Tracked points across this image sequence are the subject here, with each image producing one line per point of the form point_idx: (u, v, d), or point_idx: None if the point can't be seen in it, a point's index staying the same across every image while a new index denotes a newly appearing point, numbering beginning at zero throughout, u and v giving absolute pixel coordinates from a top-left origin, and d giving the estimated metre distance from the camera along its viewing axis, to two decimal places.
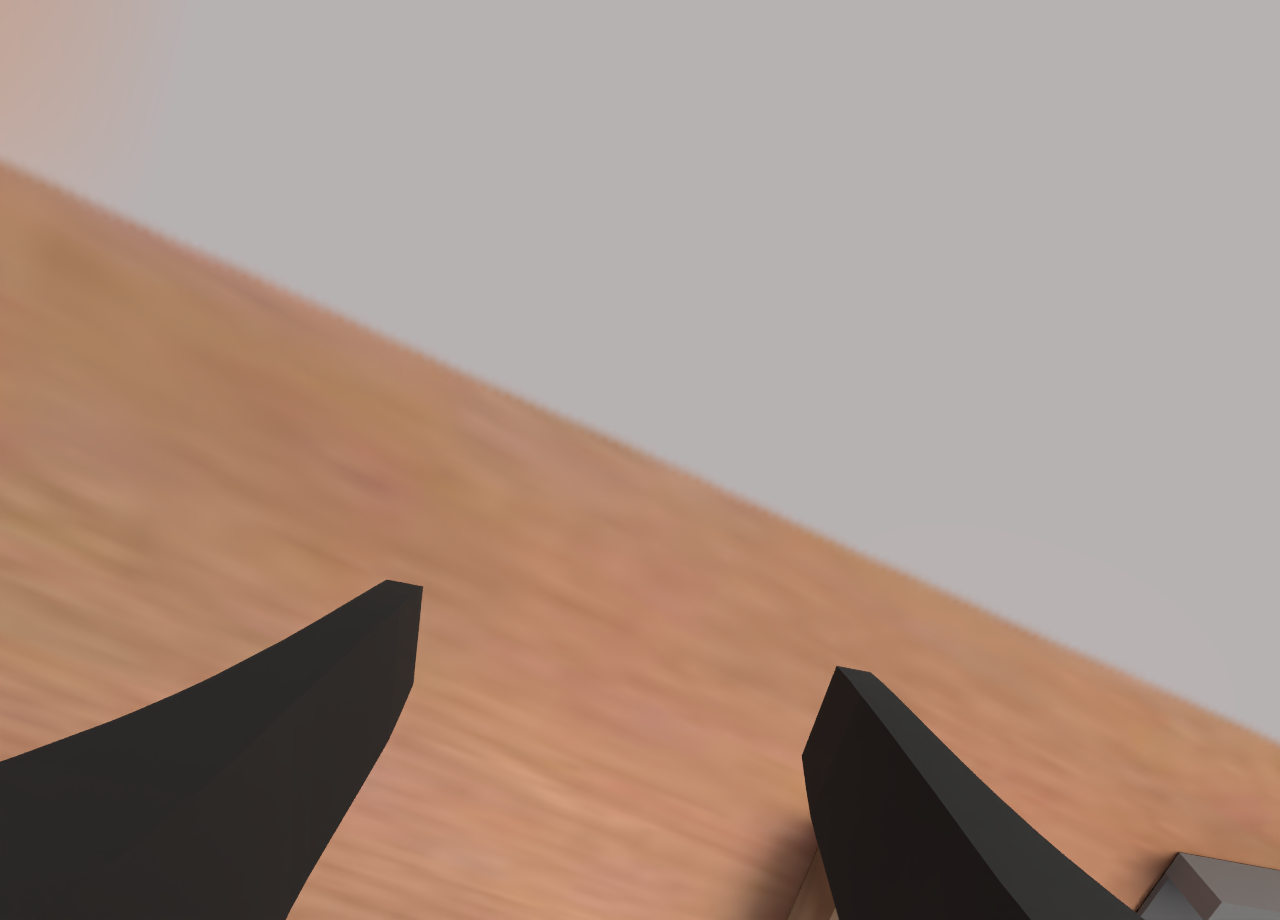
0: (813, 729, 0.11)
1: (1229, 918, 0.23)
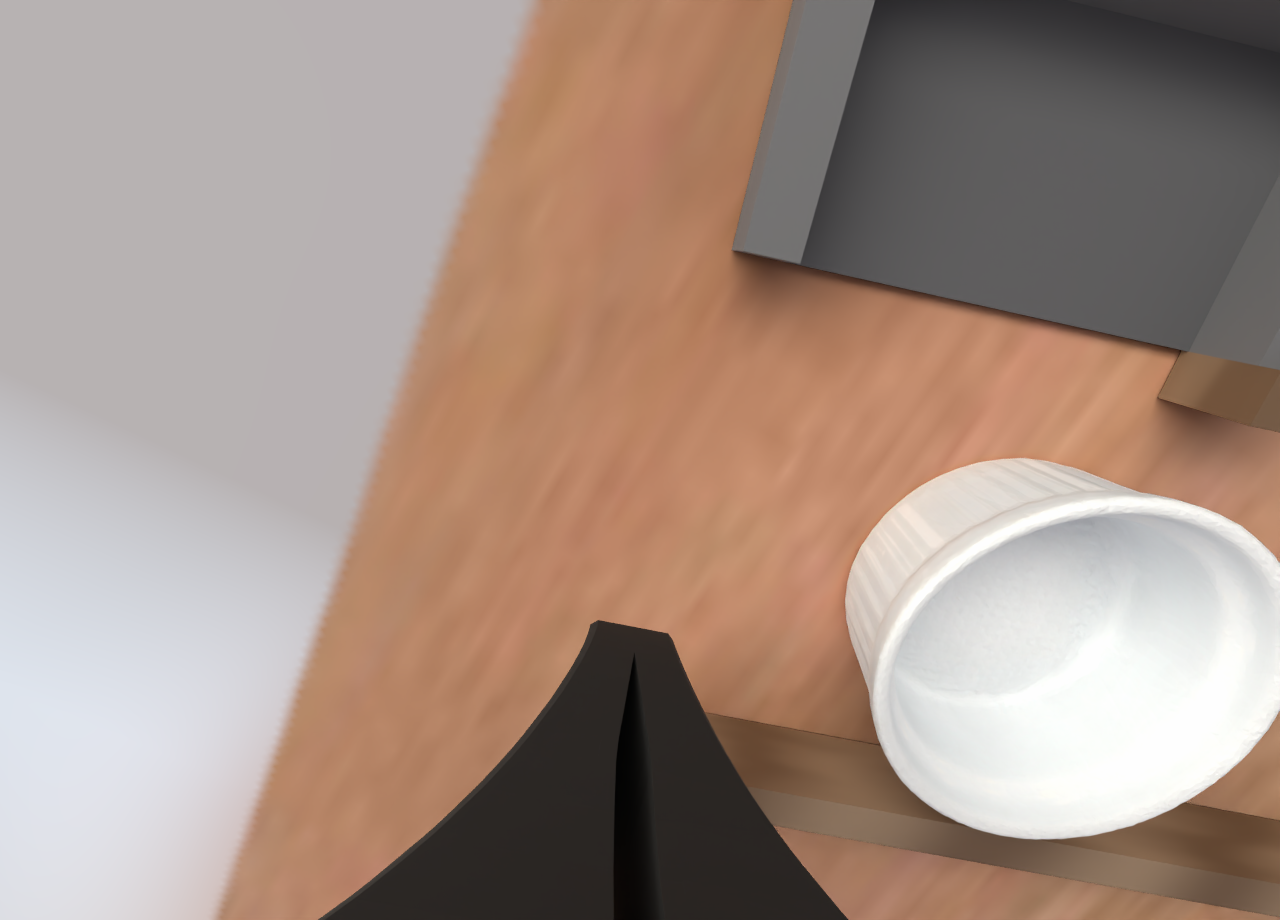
0: None
1: (789, 221, 0.12)
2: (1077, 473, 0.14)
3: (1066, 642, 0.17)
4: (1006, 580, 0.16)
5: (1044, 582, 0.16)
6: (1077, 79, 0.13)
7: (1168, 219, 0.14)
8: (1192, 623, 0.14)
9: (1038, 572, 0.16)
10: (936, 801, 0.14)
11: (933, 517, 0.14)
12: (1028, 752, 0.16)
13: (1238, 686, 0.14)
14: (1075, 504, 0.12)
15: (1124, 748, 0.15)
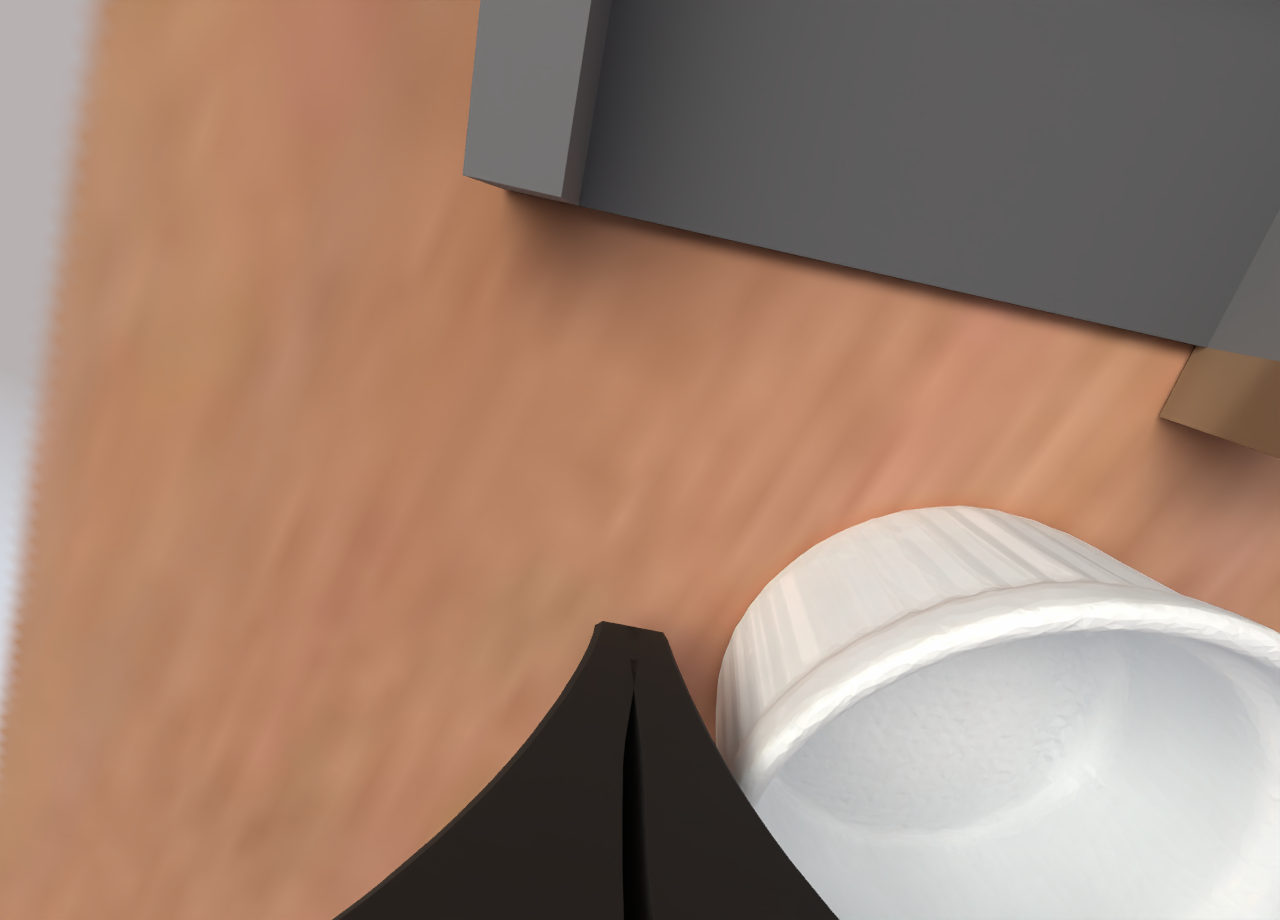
0: None
1: (533, 121, 0.07)
2: (1040, 537, 0.09)
3: (1031, 764, 0.12)
4: (942, 680, 0.11)
5: (997, 683, 0.11)
6: None
7: (1178, 137, 0.09)
8: (1215, 766, 0.09)
9: (988, 670, 0.11)
10: None
11: (817, 604, 0.09)
12: None
13: None
14: (1024, 614, 0.07)
15: None
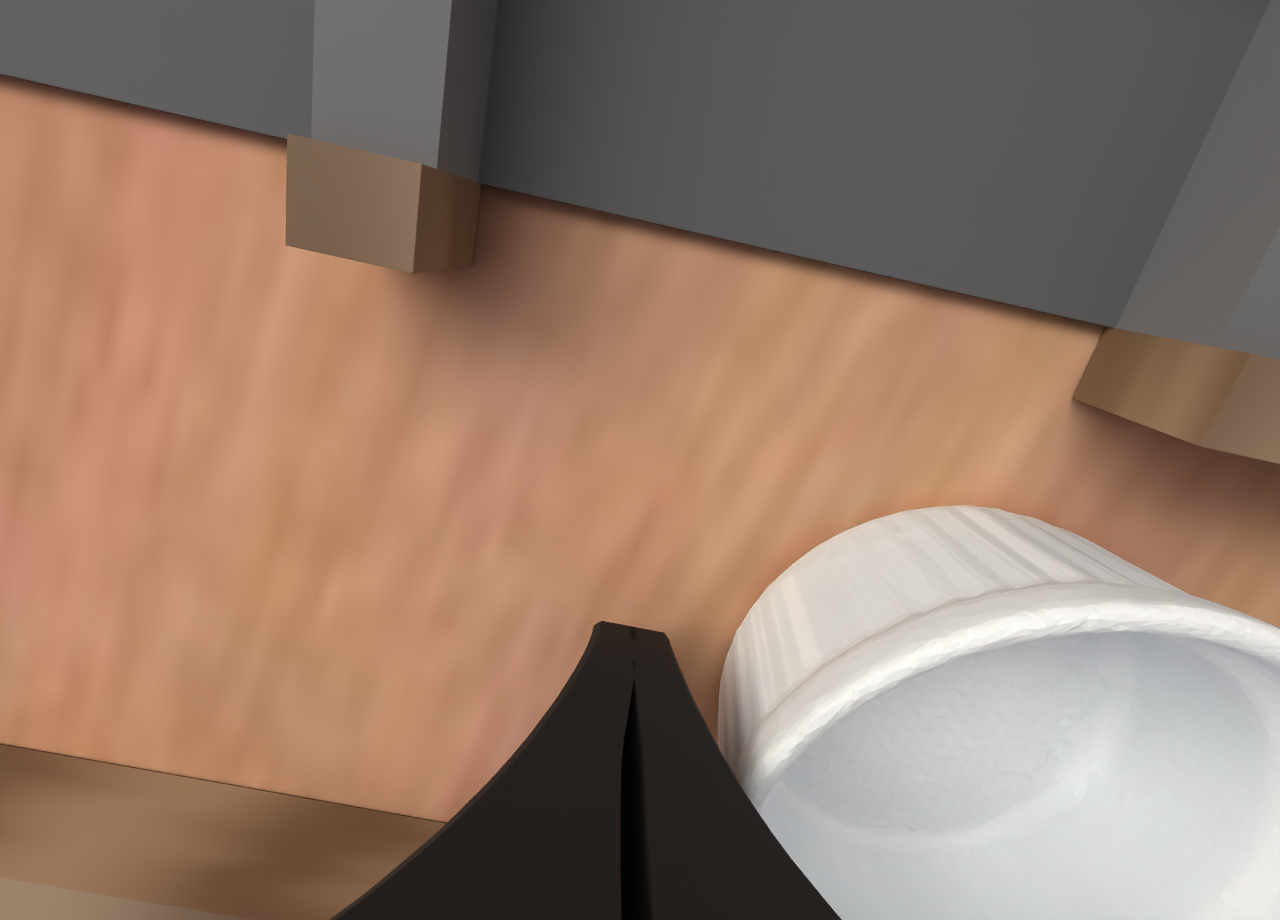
0: None
1: None
2: (1043, 536, 0.09)
3: (1037, 764, 0.12)
4: (946, 681, 0.11)
5: (1002, 684, 0.11)
6: None
7: None
8: (1225, 766, 0.09)
9: (992, 670, 0.11)
10: None
11: (818, 607, 0.09)
12: None
13: None
14: (1029, 616, 0.07)
15: None
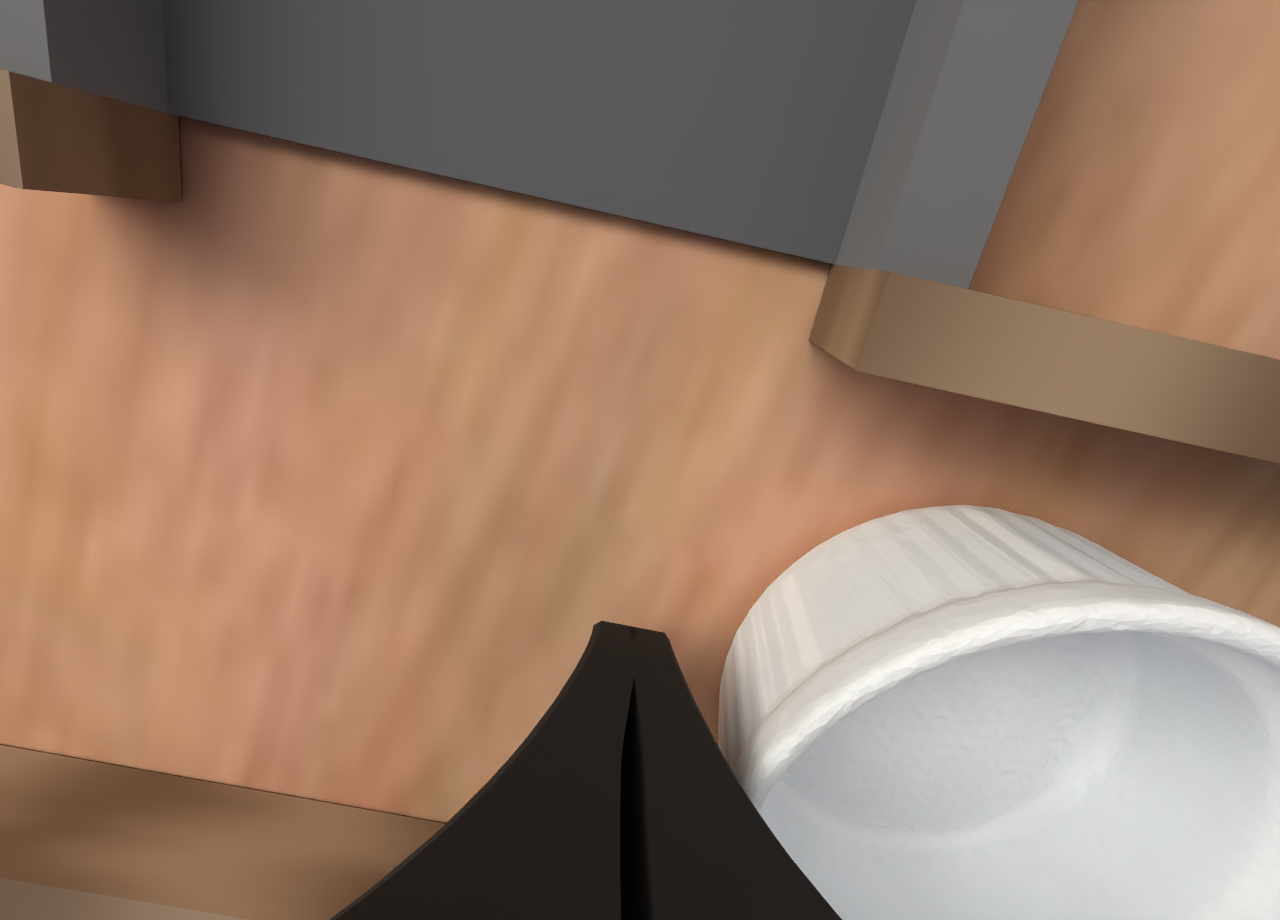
0: None
1: None
2: (1043, 535, 0.09)
3: (1038, 764, 0.12)
4: (946, 681, 0.11)
5: (1003, 683, 0.11)
6: None
7: None
8: (1225, 765, 0.09)
9: (993, 670, 0.11)
10: None
11: (817, 607, 0.09)
12: None
13: None
14: (1027, 615, 0.07)
15: None
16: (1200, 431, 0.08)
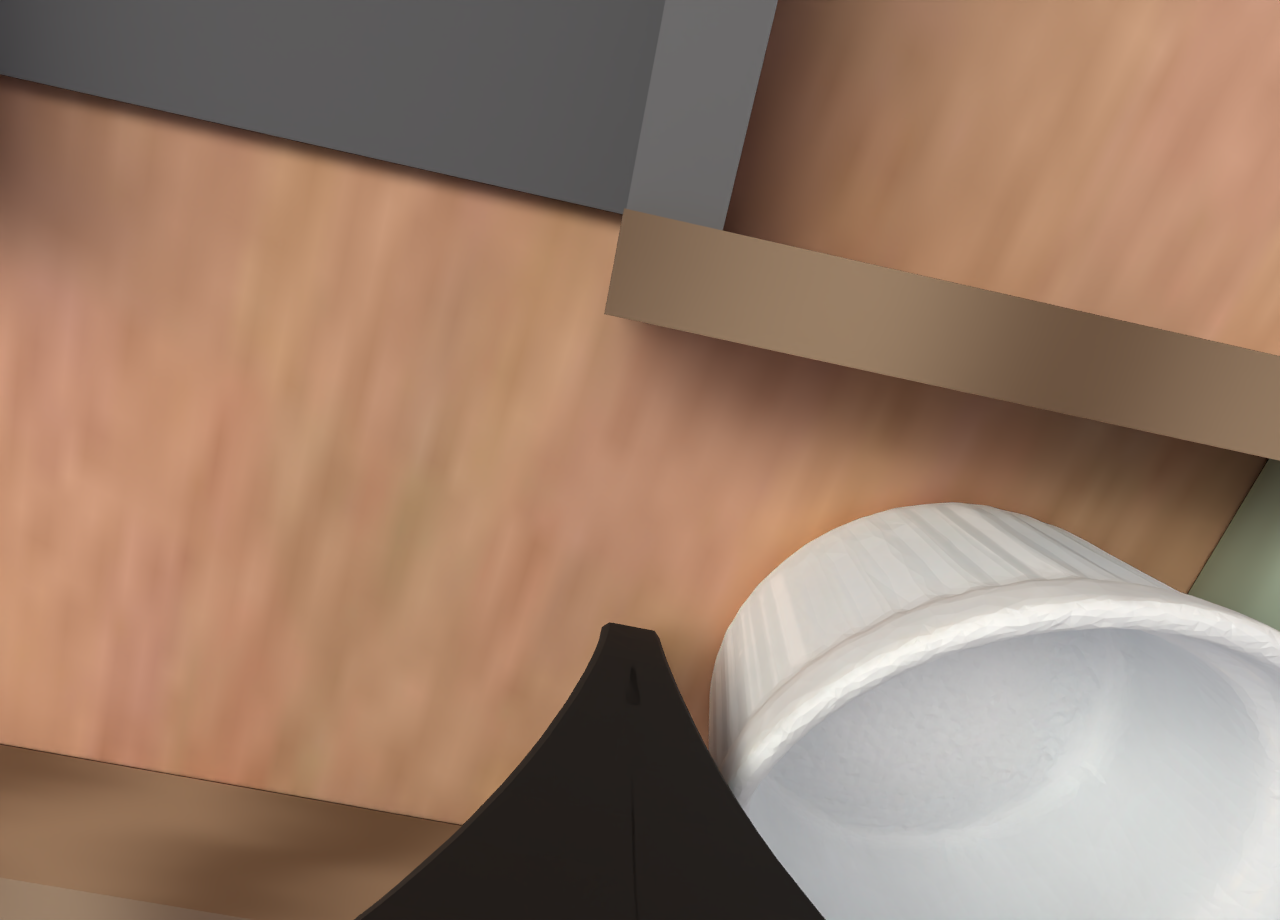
0: None
1: None
2: (1031, 533, 0.09)
3: (1030, 762, 0.12)
4: (937, 678, 0.11)
5: (994, 681, 0.11)
6: None
7: None
8: (1216, 763, 0.09)
9: (984, 668, 0.11)
10: None
11: (805, 605, 0.09)
12: None
13: None
14: (1010, 613, 0.07)
15: None
16: (961, 376, 0.07)
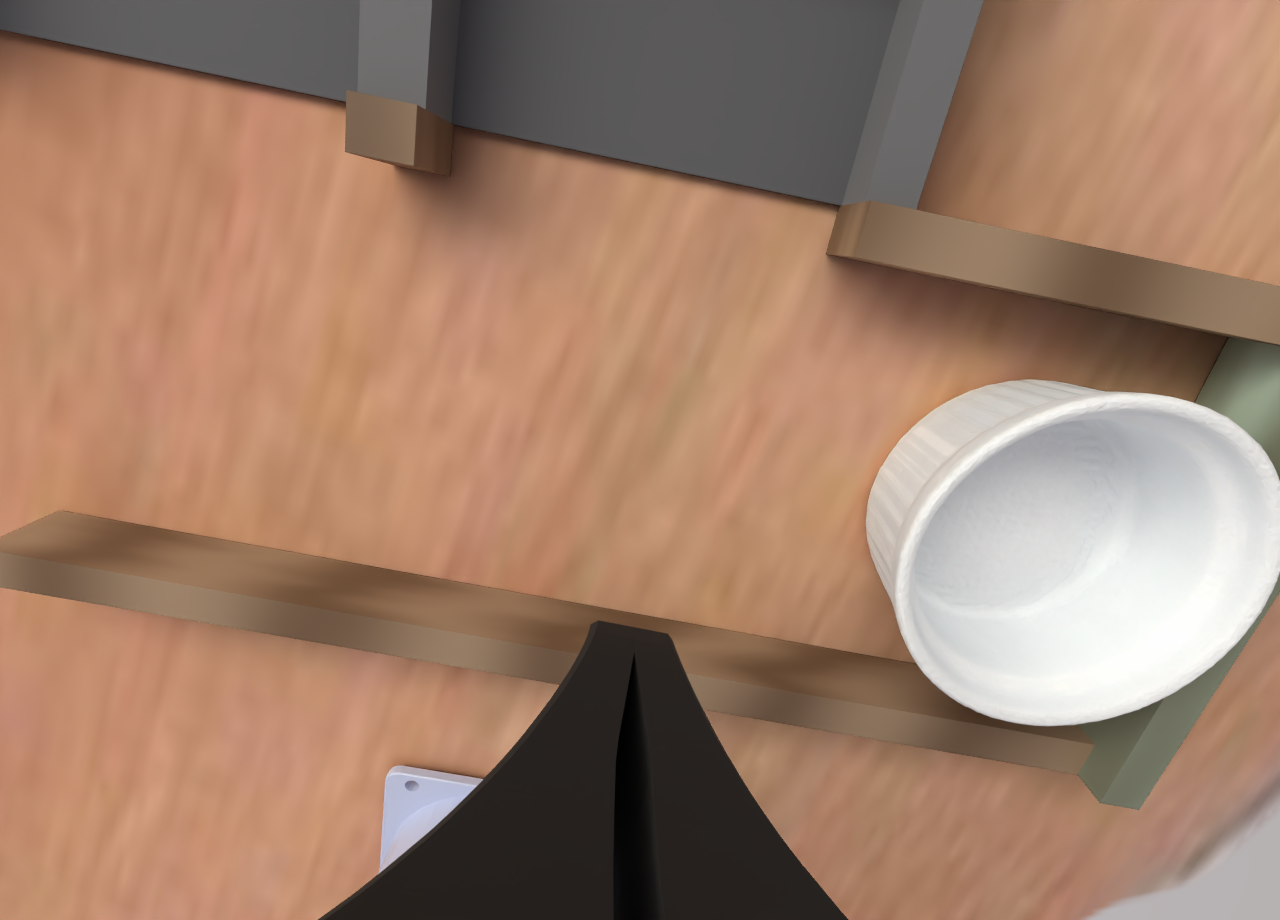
0: None
1: None
2: (1078, 386, 0.15)
3: (1074, 554, 0.18)
4: (1015, 495, 0.17)
5: (1051, 496, 0.17)
6: None
7: None
8: (1189, 522, 0.16)
9: (1045, 487, 0.17)
10: (956, 692, 0.16)
11: (946, 432, 0.16)
12: (1041, 653, 0.17)
13: (1233, 575, 0.15)
14: (1076, 403, 0.13)
15: (1130, 642, 0.16)
16: (1045, 287, 0.14)
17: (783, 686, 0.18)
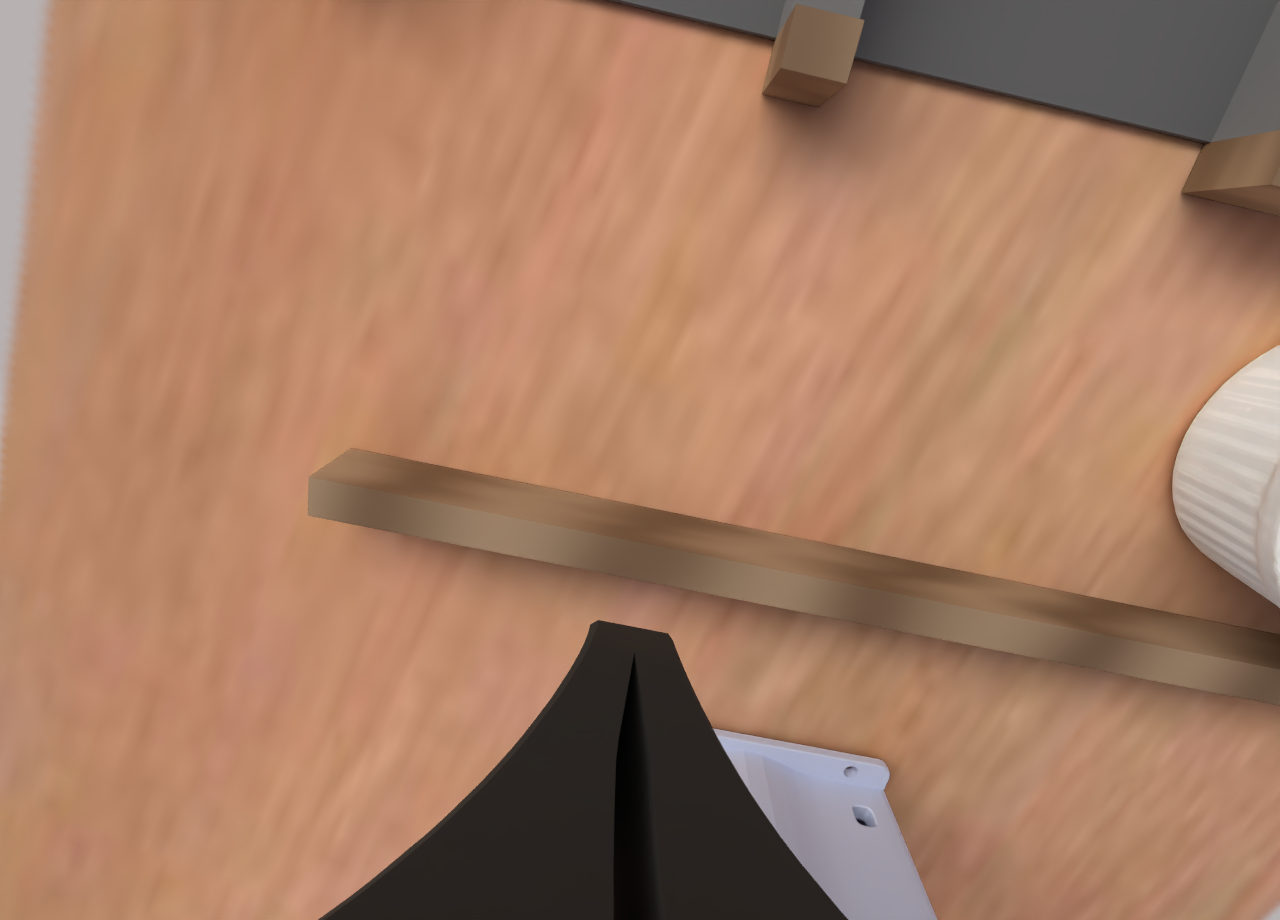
0: None
1: None
2: None
3: None
4: None
5: None
6: None
7: None
8: None
9: None
10: None
11: None
12: None
13: None
14: None
15: None
16: None
17: (1095, 630, 0.18)
